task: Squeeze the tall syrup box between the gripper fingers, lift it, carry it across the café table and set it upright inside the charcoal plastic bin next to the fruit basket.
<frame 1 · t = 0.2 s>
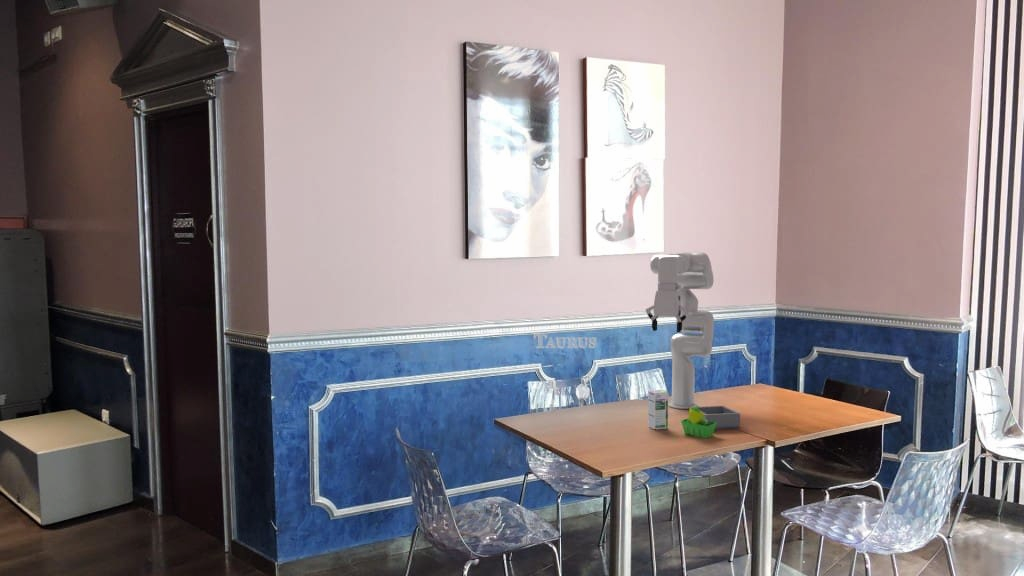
hand: (666, 331, 313), 36 cm above the table, tool pointing down, fingers open, 9 cm apart
syrup box: (657, 428, 308), on the table
bin: (714, 425, 312), on the table
fruit basket: (697, 435, 297), on the table
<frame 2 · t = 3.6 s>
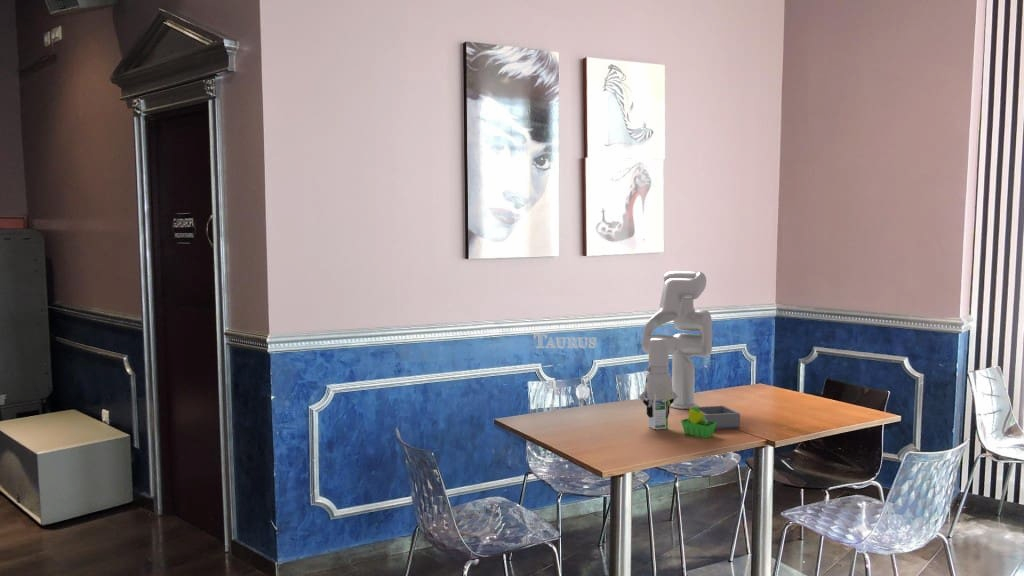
hand: (657, 415, 308), 5 cm above the table, tool pointing down, fingers closed on syrup box, 6 cm apart
syrup box: (657, 428, 308), on the table, touching gripper
everything else where it was.
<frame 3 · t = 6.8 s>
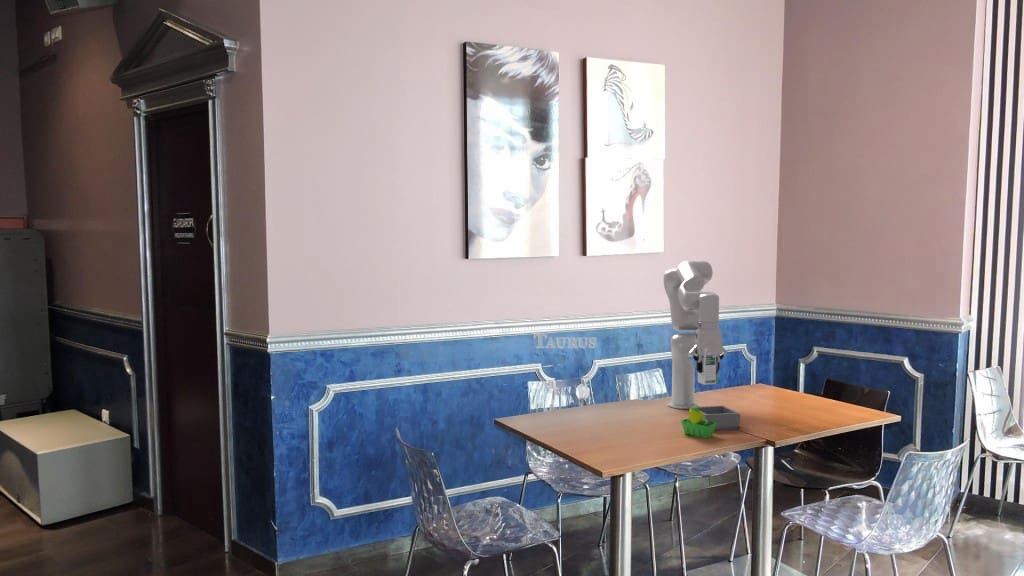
hand: (707, 371, 310), 21 cm above the table, tool pointing down, fingers closed on syrup box, 6 cm apart
syrup box: (707, 383, 310), point 16 cm above the table, touching gripper
everything else where it was.
when the fingers open (7 cm above the table, at t = 10.3 s): syrup box drops 2 cm, resting on bin.
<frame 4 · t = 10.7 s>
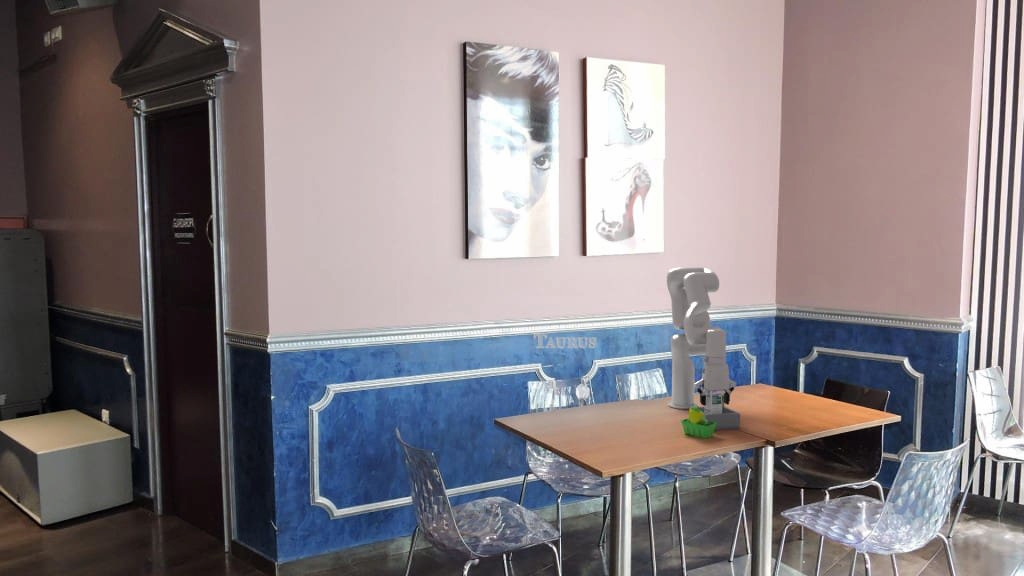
hand: (714, 404, 311), 8 cm above the table, tool pointing down, fingers open, 9 cm apart
syrup box: (714, 423, 312), point 1 cm above the table, touching bin
everything else where it was.
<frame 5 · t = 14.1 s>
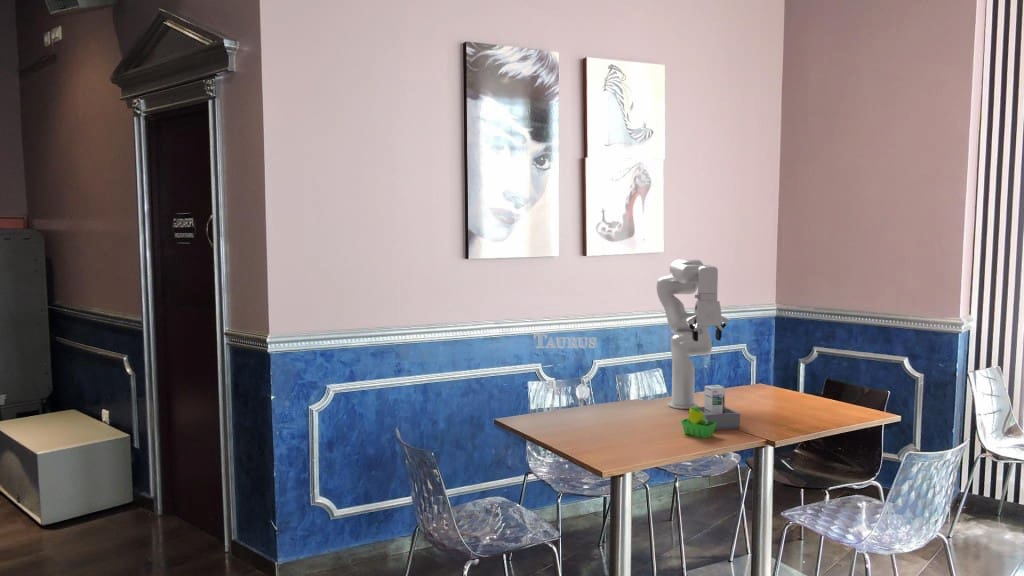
hand: (706, 340, 317), 32 cm above the table, tool pointing down, fingers open, 9 cm apart
nothing on the table moved.
at the end: syrup box inside the target area on the bin (0.1 cm from its centre), point 0.8 cm above the bin's base; syrup box tilted 0°; the gripper is holding nothing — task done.
